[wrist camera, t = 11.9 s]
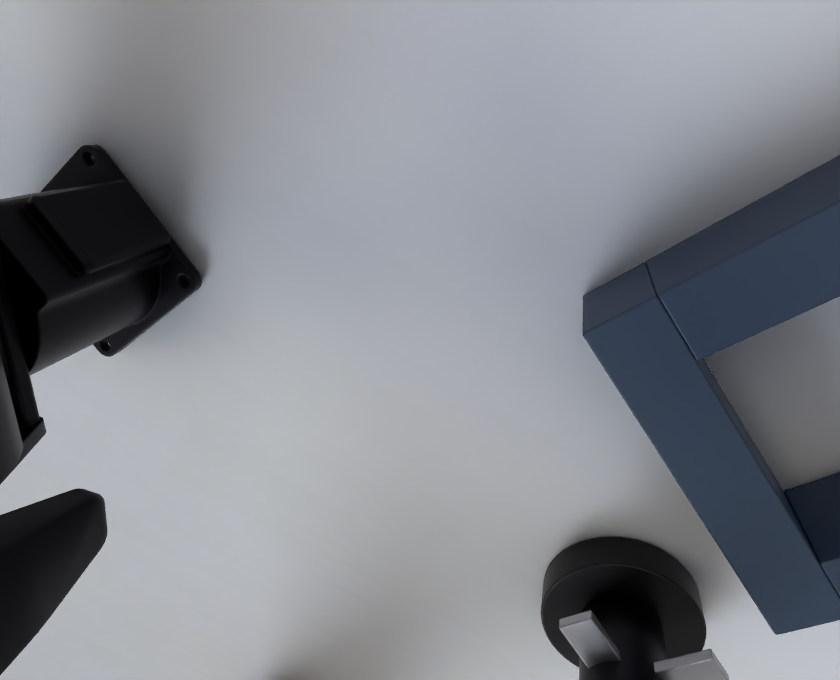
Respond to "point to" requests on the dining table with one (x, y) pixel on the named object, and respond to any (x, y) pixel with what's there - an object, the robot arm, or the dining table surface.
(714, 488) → the blue square frame
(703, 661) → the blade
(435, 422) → the dining table surface
